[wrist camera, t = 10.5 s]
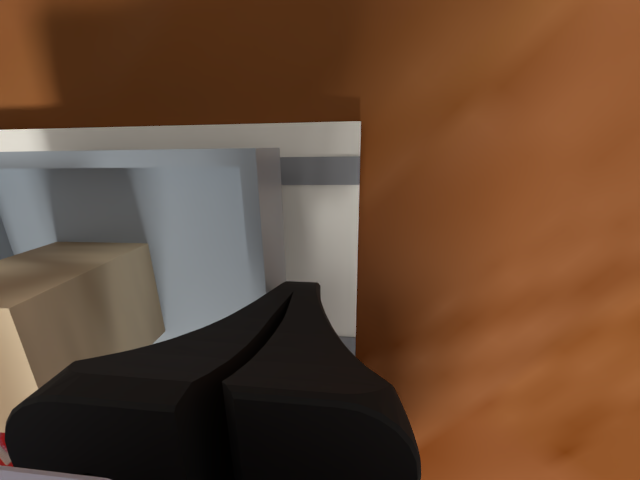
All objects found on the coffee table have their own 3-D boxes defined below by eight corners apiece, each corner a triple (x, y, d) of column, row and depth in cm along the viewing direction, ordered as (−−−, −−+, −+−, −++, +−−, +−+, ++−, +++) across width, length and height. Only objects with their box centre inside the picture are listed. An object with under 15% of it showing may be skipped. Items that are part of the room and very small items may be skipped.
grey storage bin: (298, 364, 16) (277, 447, 12) (92, 351, 17) (3, 420, 13) (289, 147, 13) (255, 148, 8) (36, 151, 14) (-110, 153, 10)
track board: (354, 365, 17) (354, 379, 16) (16, 343, 20) (-3, 354, 19) (360, 122, 13) (360, 120, 12) (-62, 132, 16) (-92, 131, 15)
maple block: (81, 326, 13) (-68, 425, 9) (56, 241, 12) (-133, 302, 7) (165, 331, 13) (56, 437, 8) (147, 243, 12) (8, 308, 7)
